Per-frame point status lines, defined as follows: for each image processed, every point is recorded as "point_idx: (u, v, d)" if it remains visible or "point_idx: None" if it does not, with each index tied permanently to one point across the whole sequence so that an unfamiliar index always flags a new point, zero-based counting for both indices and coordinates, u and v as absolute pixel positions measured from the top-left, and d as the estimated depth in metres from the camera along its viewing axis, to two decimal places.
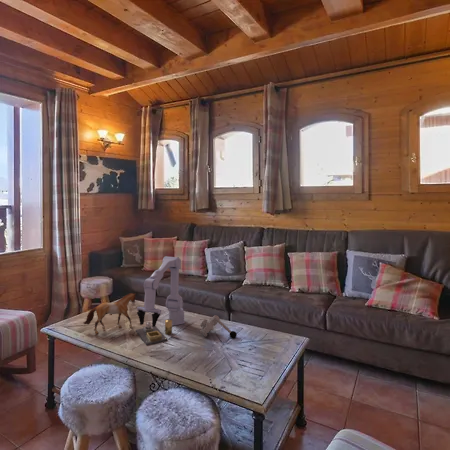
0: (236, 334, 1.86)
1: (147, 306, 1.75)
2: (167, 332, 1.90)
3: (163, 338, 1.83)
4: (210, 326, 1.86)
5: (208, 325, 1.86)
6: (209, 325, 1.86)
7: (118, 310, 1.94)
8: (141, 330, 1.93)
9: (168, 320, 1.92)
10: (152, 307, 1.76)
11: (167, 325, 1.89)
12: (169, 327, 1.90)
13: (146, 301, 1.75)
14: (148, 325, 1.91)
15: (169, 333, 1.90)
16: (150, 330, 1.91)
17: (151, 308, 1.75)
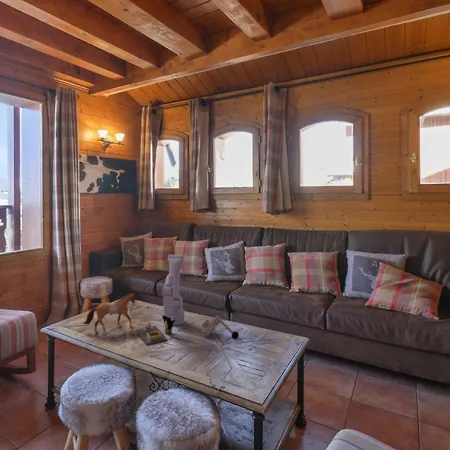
0: (238, 334, 1.86)
1: (164, 311, 1.89)
2: (167, 332, 1.90)
3: (163, 338, 1.83)
4: (212, 326, 1.85)
5: (210, 325, 1.85)
6: (211, 325, 1.85)
7: (118, 310, 1.94)
8: (141, 330, 1.93)
9: None
10: (168, 313, 1.88)
11: None
12: None
13: None
14: (148, 325, 1.91)
15: (169, 333, 1.90)
16: (150, 330, 1.91)
17: (167, 314, 1.88)
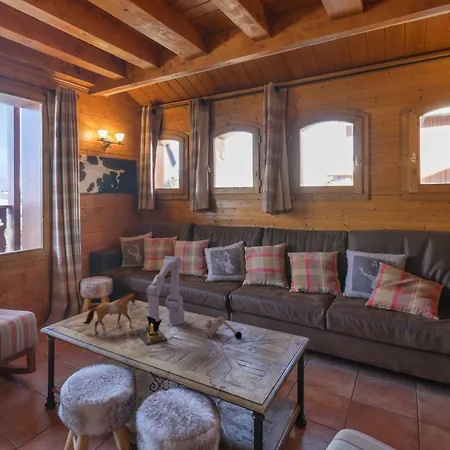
0: (241, 335, 1.85)
1: (149, 312, 1.81)
2: None
3: (163, 338, 1.83)
4: (215, 327, 1.84)
5: (213, 326, 1.84)
6: (214, 326, 1.84)
7: (118, 310, 1.94)
8: (141, 330, 1.93)
9: None
10: (153, 313, 1.80)
11: (152, 329, 1.82)
12: None
13: (148, 307, 1.81)
14: (148, 325, 1.91)
15: None
16: None
17: (152, 314, 1.80)
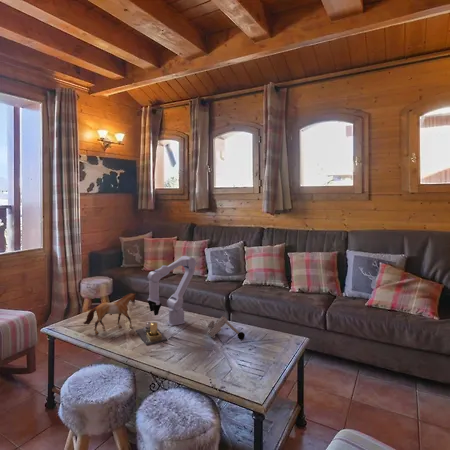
0: (244, 335, 1.85)
1: (149, 296, 1.95)
2: None
3: (163, 338, 1.83)
4: (218, 327, 1.84)
5: (216, 326, 1.84)
6: (217, 326, 1.84)
7: (118, 310, 1.94)
8: (141, 330, 1.93)
9: (153, 323, 1.84)
10: (154, 298, 1.94)
11: (152, 328, 1.82)
12: (154, 331, 1.82)
13: (149, 292, 1.95)
14: (148, 325, 1.91)
15: None
16: None
17: (153, 298, 1.94)
